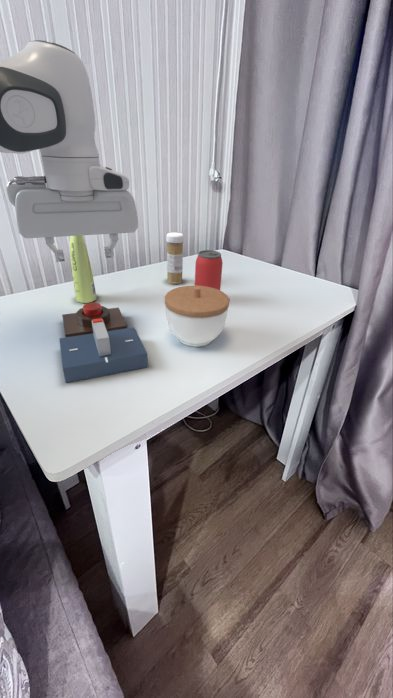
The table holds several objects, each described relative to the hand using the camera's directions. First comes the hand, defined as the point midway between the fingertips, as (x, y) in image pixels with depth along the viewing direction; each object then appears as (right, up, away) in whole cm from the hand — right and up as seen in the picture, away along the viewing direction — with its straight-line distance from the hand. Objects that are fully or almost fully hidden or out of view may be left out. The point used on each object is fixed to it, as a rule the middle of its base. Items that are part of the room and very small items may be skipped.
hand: (85, 258), depth 62 cm
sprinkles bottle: (+15, +2, +33) cm, 36 cm away
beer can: (+24, -4, +24) cm, 34 cm away
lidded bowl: (+21, -15, +7) cm, 26 cm away
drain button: (-1, -10, +6) cm, 12 cm away
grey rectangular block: (+4, -16, -3) cm, 17 cm away
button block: (-1, -13, +8) cm, 15 cm away
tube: (-7, -5, +21) cm, 22 cm away
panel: (+4, -19, -1) cm, 19 cm away
